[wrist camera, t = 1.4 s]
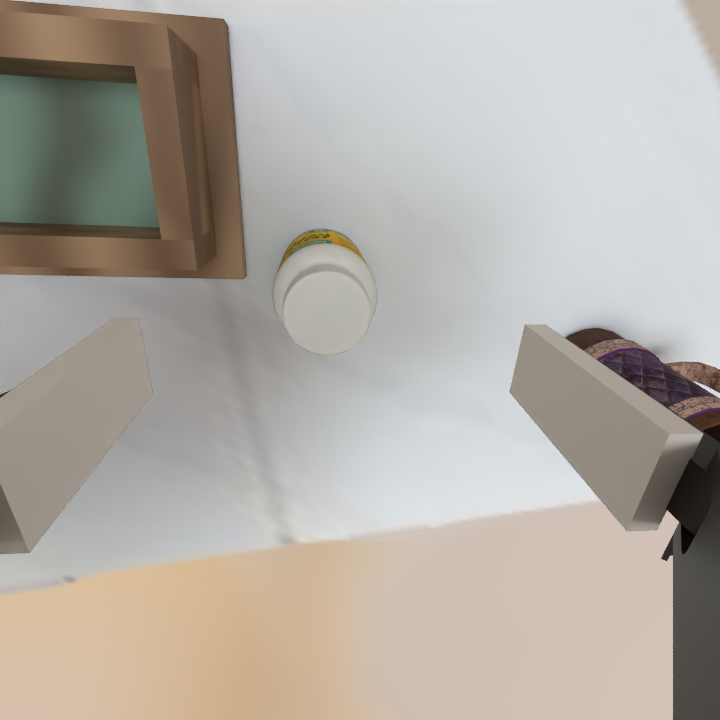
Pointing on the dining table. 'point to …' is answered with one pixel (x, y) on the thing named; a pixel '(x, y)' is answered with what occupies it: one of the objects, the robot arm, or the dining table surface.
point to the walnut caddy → (117, 144)
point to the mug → (659, 377)
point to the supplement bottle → (324, 292)
